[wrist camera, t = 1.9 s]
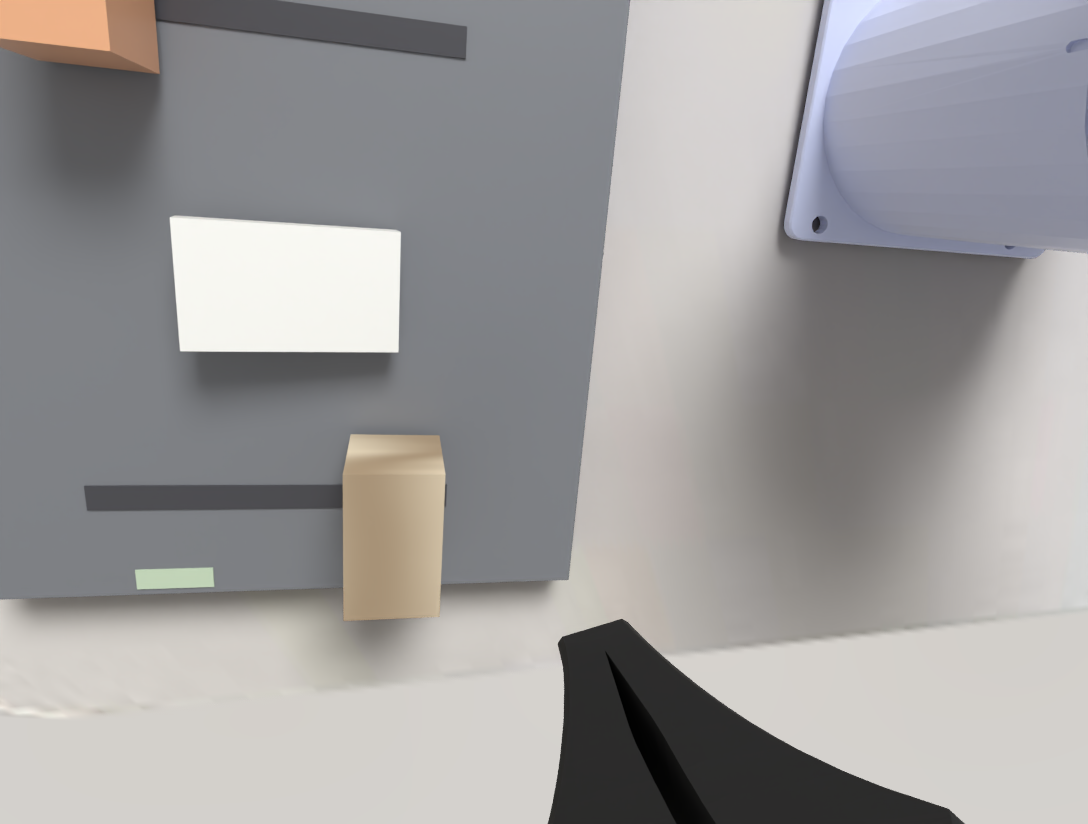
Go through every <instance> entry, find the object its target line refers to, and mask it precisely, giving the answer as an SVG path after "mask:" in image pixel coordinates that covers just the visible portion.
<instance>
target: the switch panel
mask: <svg viewBox="0 0 1088 824" xmlns="http://www.w3.org/2000/svg"><path fill="white" fill-rule="evenodd" d="M154 6H155V19H156V32H157V45H158V58H159V71H160V74H154V73H145V72H136V71H127V70H119V69H110V68H101V67H92V66H83V65H74V64H65V63H56V62H48V61H39V60H35V59H32V58H29V57H27V56H24V55H21V54H18V53H15V52H12V51H9V50H6V49H3V48H0V599H27V598H56V597H85V596H114V595H143V594H172V593H201V592H230V591H259V590H288V589H317V588H343V471H344V466H345V461H346V455H347V450H348V445H349V440H350V435H351V434H365V435H439V436H440V443H441V449H442V455H443V462H444V468H445V474H446V476H445V499H444V522H443V545H442V568H441V584H462V583H491V582H519V581H548V580H568V579H569V569H570V560H571V550H572V541H573V532H574V522H575V513H576V503H577V494H578V485H579V475H580V466H581V456H582V447H583V438H584V428H585V419H586V410H587V400H588V391H589V381H590V372H591V363H592V353H593V344H594V334H595V325H596V316H597V306H598V297H599V288H600V278H601V269H602V259H603V250H604V241H605V231H606V222H607V212H608V203H609V194H610V184H611V175H612V166H613V156H614V147H615V137H616V128H617V119H618V109H619V100H620V90H621V81H622V72H623V62H624V53H625V44H626V34H627V25H628V15H629V6H630V0H154ZM175 215H176V216H192V217H207V218H223V219H238V220H253V221H269V222H284V223H299V224H315V225H330V226H345V227H361V228H376V229H392V230H398V231H400V232H401V249H400V300H399V351H398V352H204V351H180V344H179V332H178V319H177V306H176V293H175V280H174V267H173V255H172V242H171V229H170V217H172V216H175Z"/></svg>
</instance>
